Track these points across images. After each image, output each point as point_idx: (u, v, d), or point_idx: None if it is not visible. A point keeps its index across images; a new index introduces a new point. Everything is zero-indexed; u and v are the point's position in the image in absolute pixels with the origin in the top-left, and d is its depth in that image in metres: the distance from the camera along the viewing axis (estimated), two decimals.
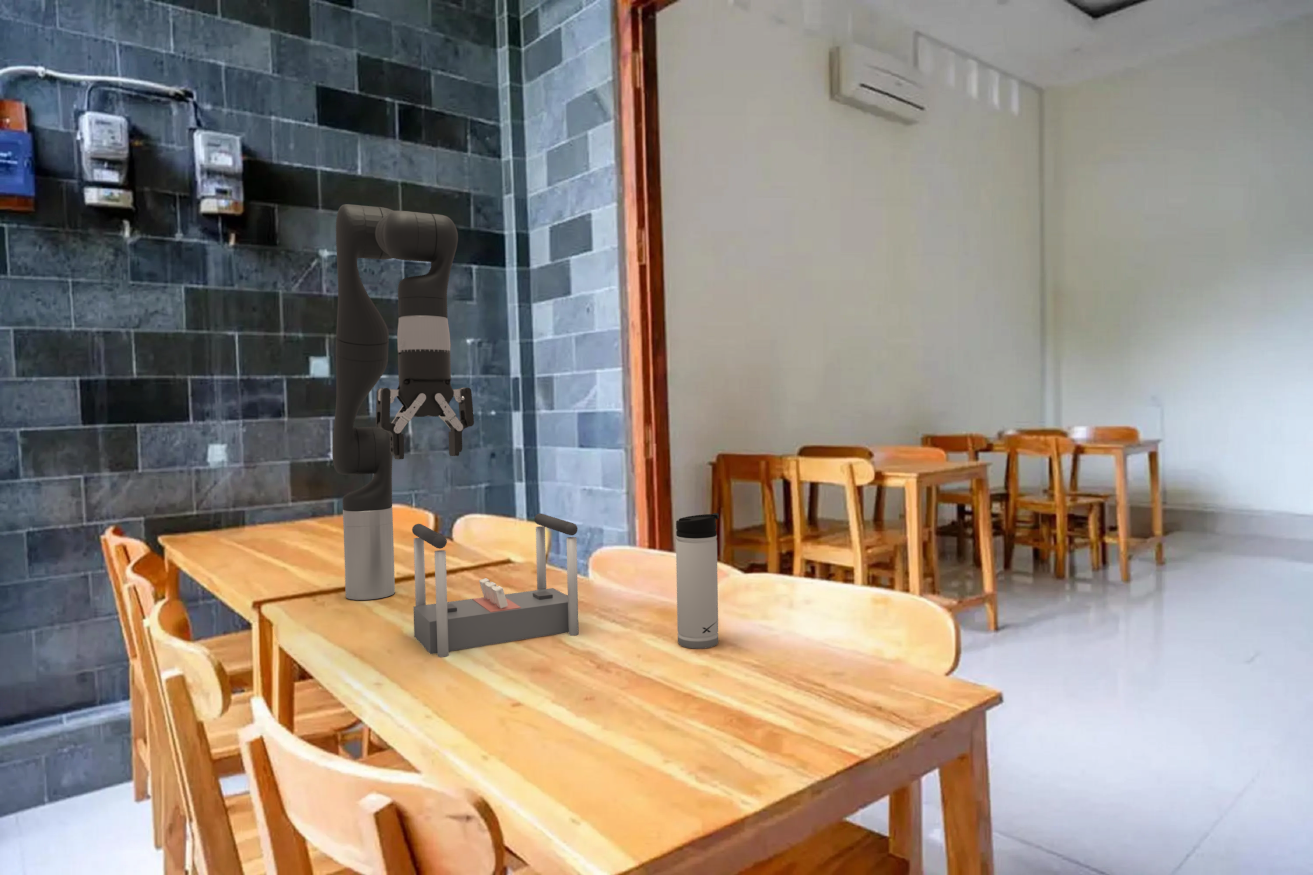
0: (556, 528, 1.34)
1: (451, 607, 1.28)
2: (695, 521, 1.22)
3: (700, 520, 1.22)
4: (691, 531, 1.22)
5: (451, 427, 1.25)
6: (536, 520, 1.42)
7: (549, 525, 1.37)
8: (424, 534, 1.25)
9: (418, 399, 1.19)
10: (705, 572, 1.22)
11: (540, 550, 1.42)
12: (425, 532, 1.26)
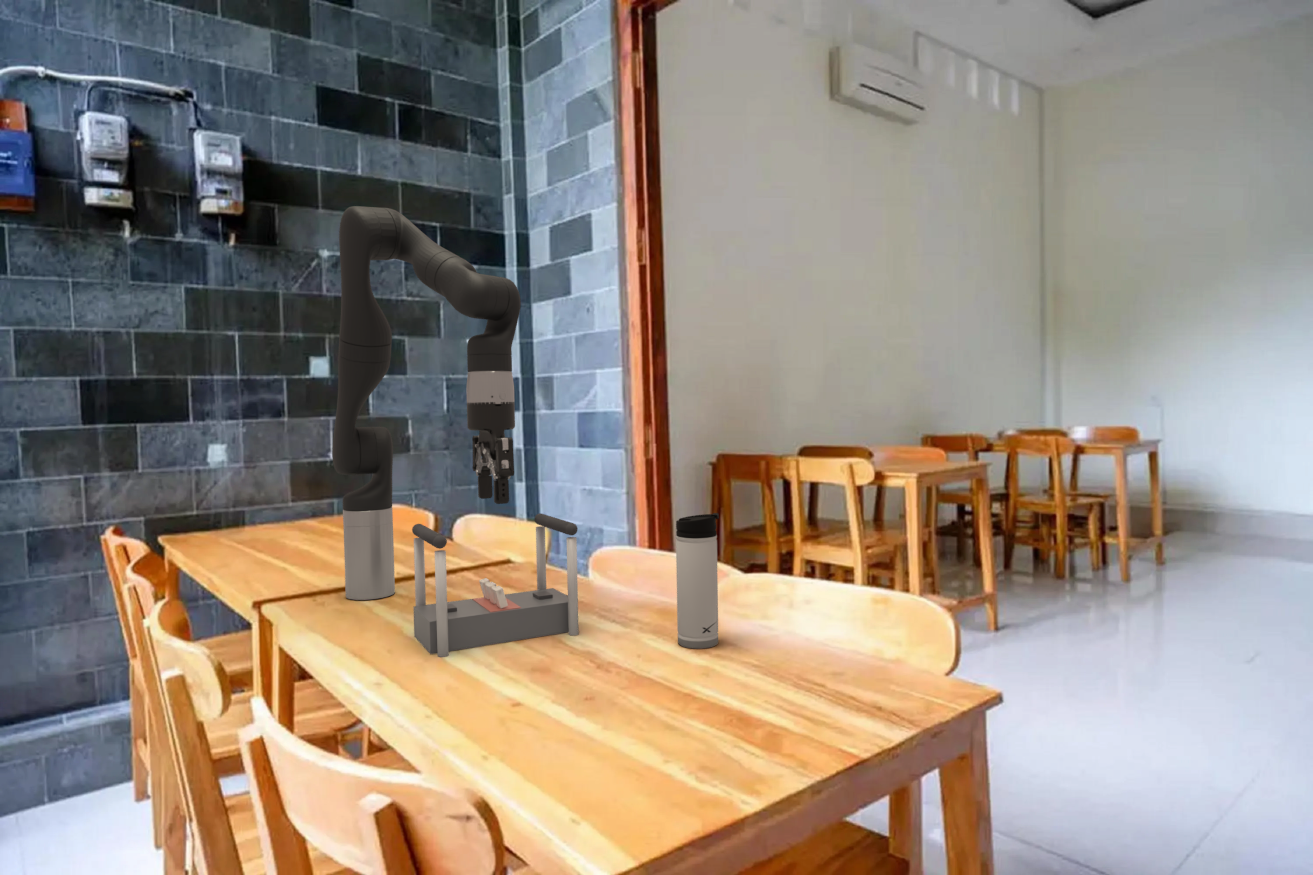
0: (556, 528, 1.34)
1: (451, 607, 1.28)
2: (695, 521, 1.22)
3: (700, 520, 1.22)
4: (691, 531, 1.22)
5: (482, 472, 1.35)
6: (536, 520, 1.42)
7: (549, 525, 1.37)
8: (424, 534, 1.25)
9: None
10: (705, 572, 1.22)
11: (540, 550, 1.42)
12: (425, 532, 1.26)
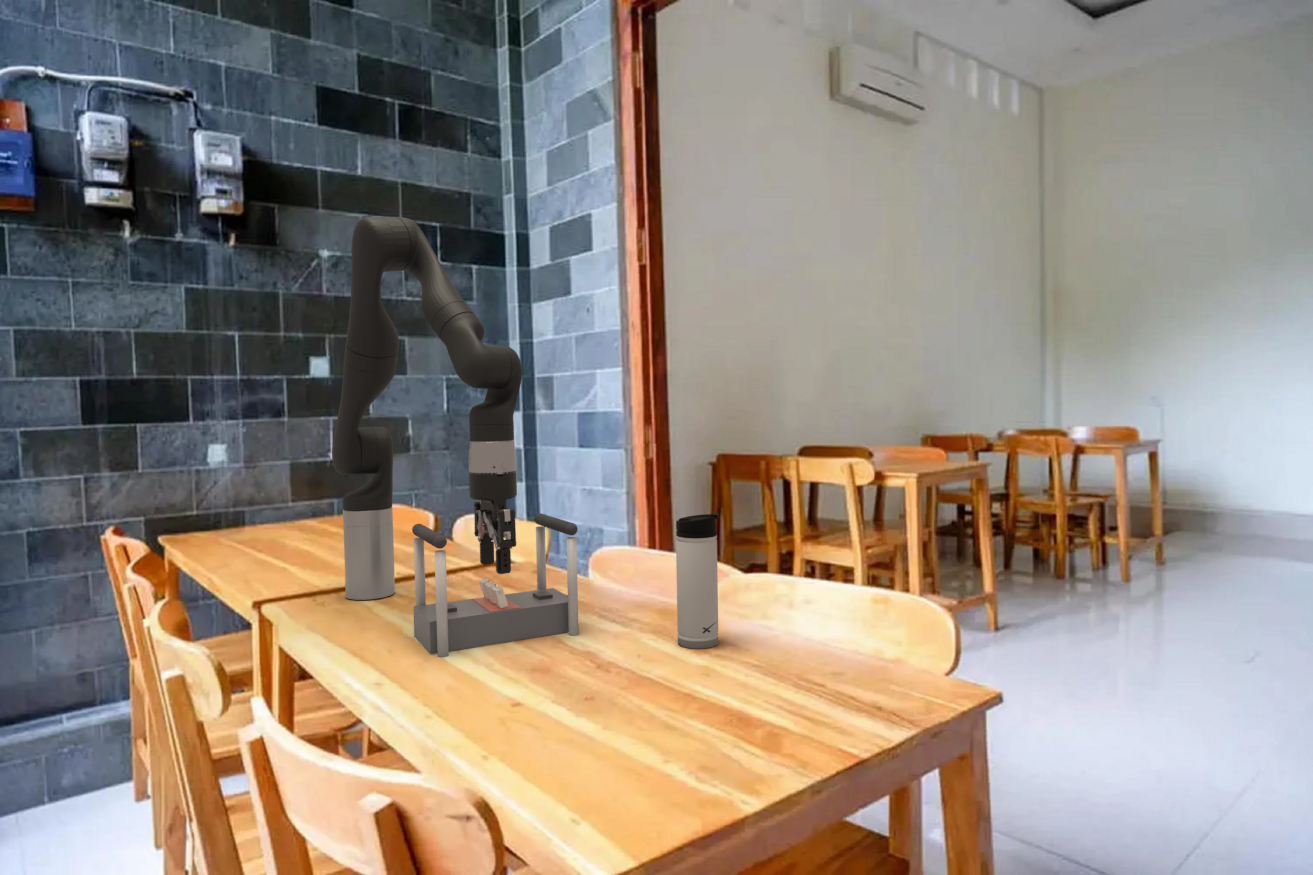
0: (556, 528, 1.34)
1: (451, 607, 1.28)
2: (695, 521, 1.22)
3: (700, 520, 1.22)
4: (691, 531, 1.22)
5: (484, 538, 1.35)
6: (536, 520, 1.42)
7: (549, 525, 1.37)
8: (424, 534, 1.25)
9: None
10: (705, 572, 1.22)
11: (540, 550, 1.42)
12: (425, 532, 1.26)
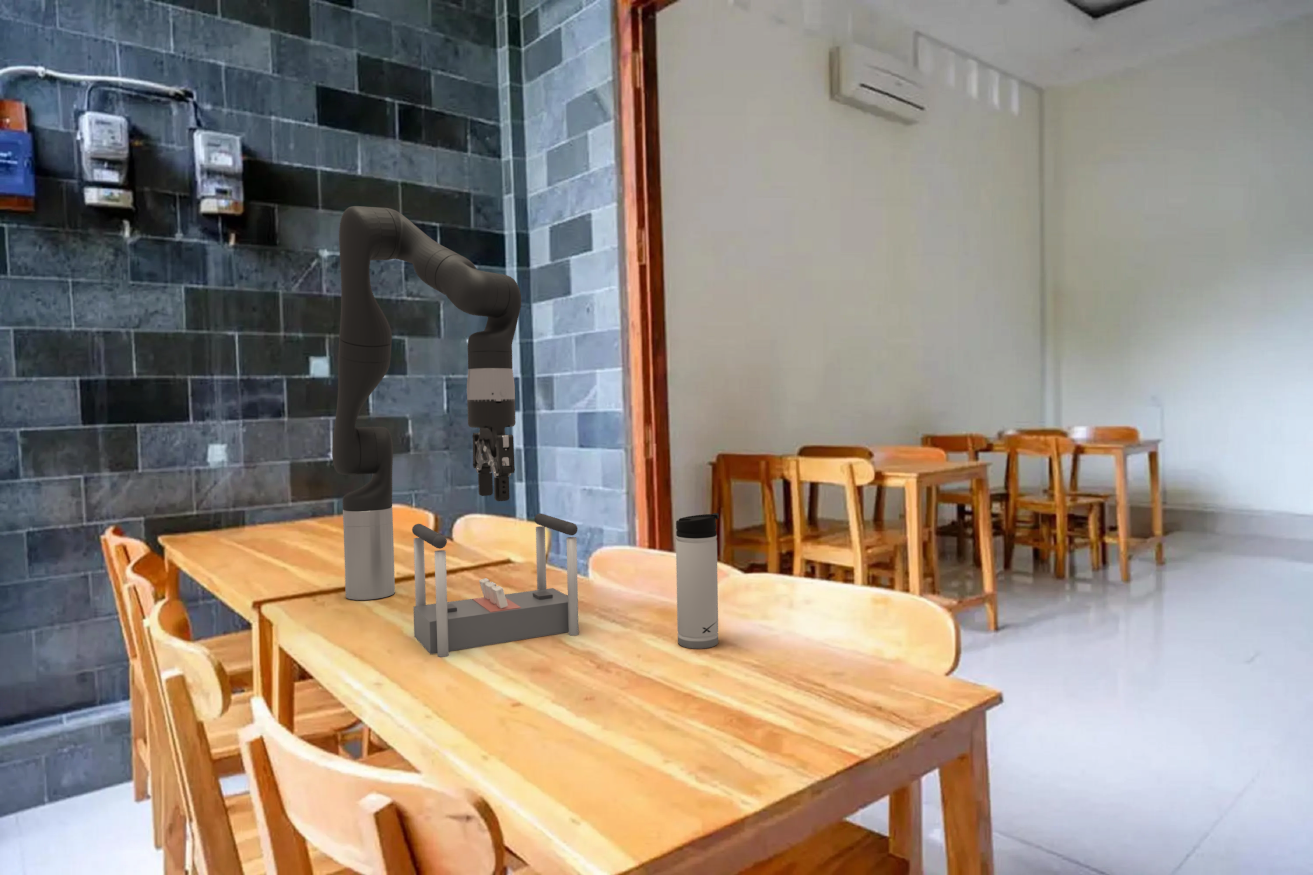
0: (556, 528, 1.34)
1: (451, 607, 1.28)
2: (695, 521, 1.22)
3: (700, 520, 1.22)
4: (691, 531, 1.22)
5: (482, 469, 1.35)
6: (536, 520, 1.42)
7: (549, 525, 1.37)
8: (424, 534, 1.25)
9: None
10: (705, 572, 1.22)
11: (540, 550, 1.42)
12: (425, 532, 1.26)
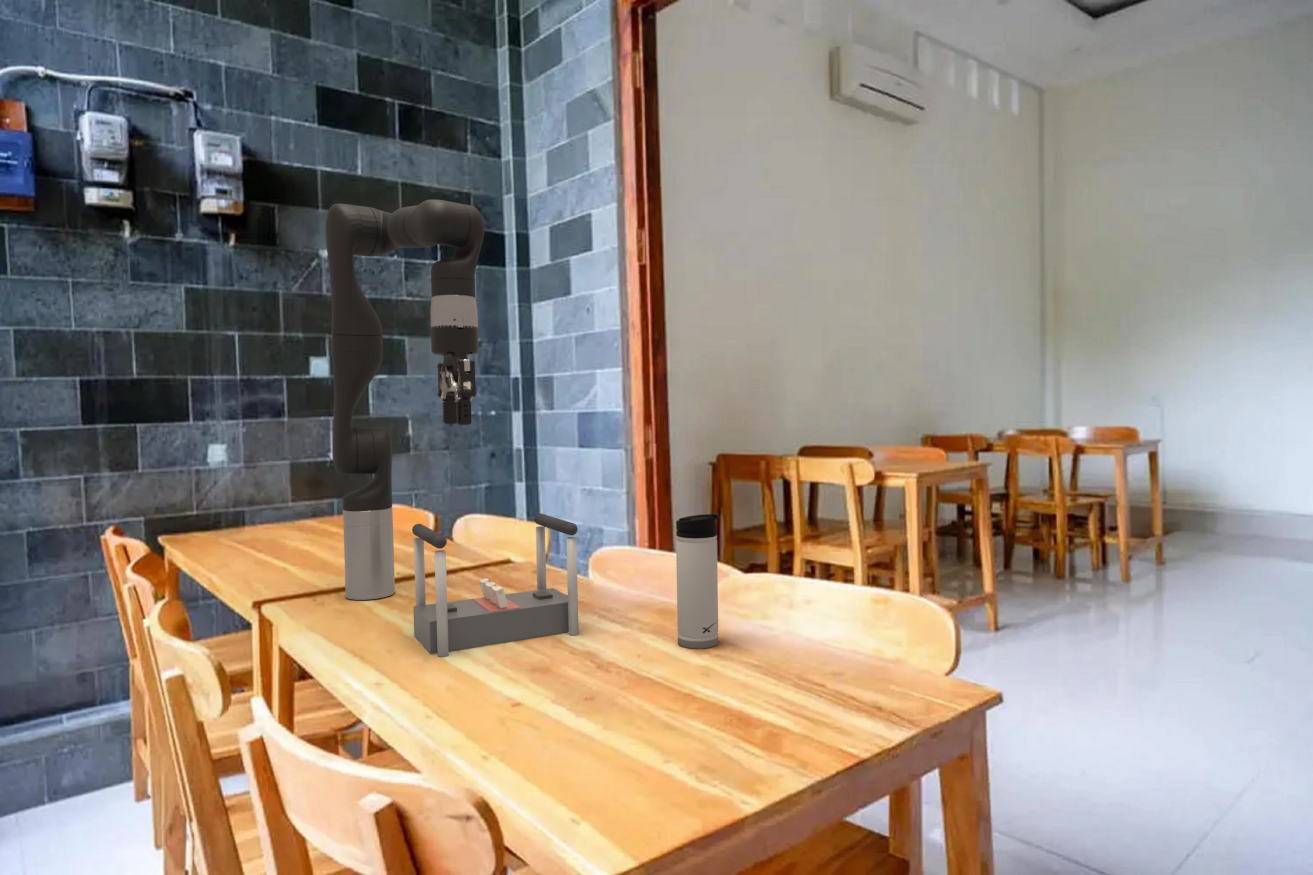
0: (556, 528, 1.34)
1: (451, 607, 1.28)
2: (695, 521, 1.22)
3: (700, 520, 1.22)
4: (691, 531, 1.22)
5: (447, 398, 1.38)
6: (536, 520, 1.42)
7: (549, 525, 1.37)
8: (424, 534, 1.25)
9: None
10: (705, 572, 1.22)
11: (540, 550, 1.42)
12: (425, 532, 1.26)
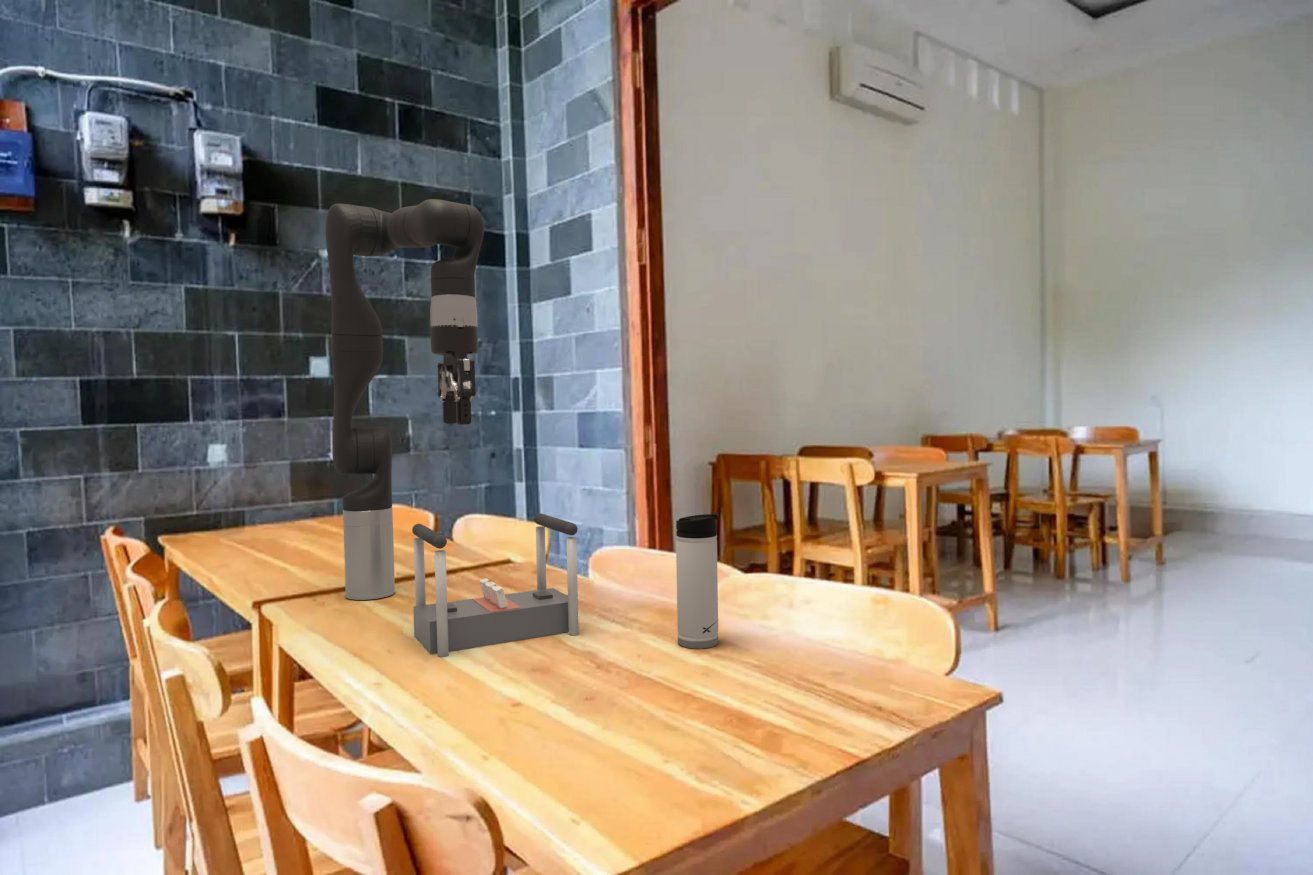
0: (556, 528, 1.34)
1: (451, 607, 1.28)
2: (695, 521, 1.22)
3: (700, 520, 1.22)
4: (691, 531, 1.22)
5: (447, 397, 1.38)
6: (536, 520, 1.42)
7: (549, 525, 1.37)
8: (424, 534, 1.25)
9: None
10: (705, 572, 1.22)
11: (540, 550, 1.42)
12: (425, 532, 1.26)
